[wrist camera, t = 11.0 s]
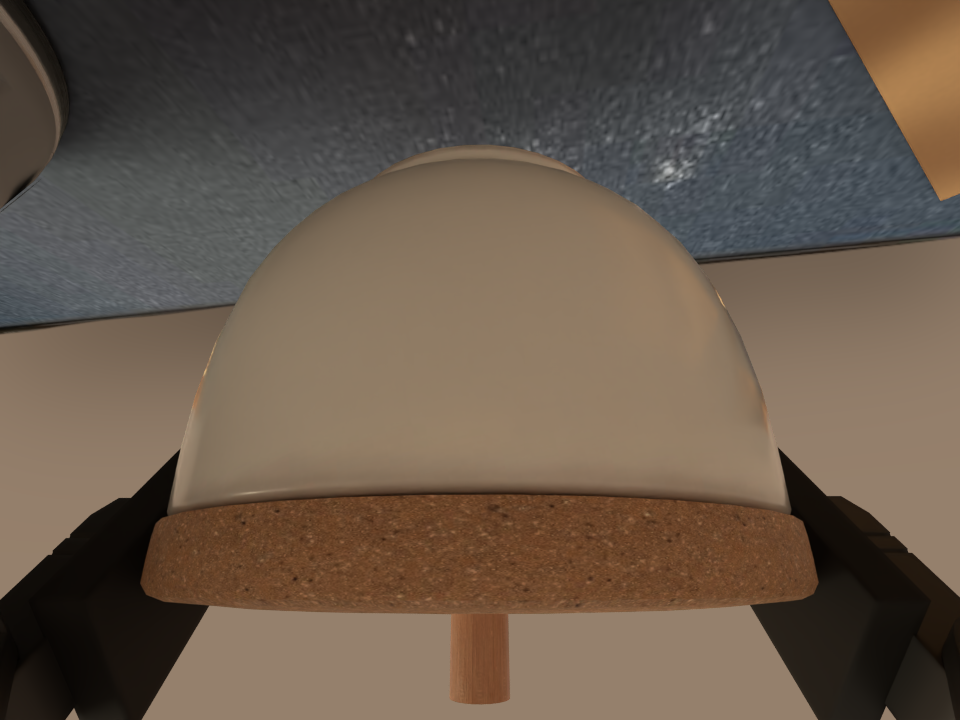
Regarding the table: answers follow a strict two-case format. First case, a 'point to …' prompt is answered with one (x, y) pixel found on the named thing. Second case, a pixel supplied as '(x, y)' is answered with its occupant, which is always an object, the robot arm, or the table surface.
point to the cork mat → (915, 75)
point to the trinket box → (479, 419)
